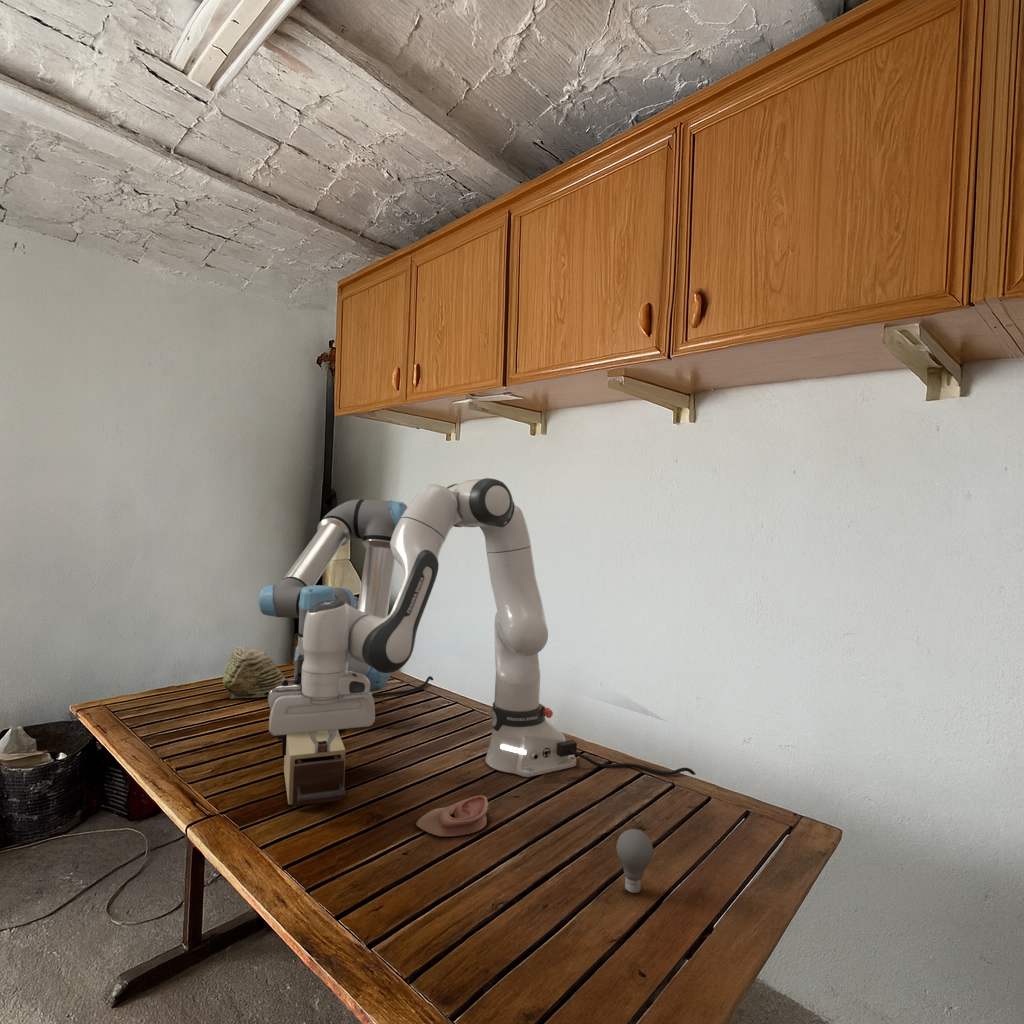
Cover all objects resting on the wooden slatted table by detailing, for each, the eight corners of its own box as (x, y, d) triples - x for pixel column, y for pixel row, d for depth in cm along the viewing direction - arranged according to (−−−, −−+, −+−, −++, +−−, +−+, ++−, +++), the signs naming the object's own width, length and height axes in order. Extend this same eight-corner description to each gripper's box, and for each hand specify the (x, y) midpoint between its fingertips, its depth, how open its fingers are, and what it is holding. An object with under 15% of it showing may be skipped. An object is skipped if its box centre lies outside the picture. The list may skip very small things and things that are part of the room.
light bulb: (610, 879, 108) (613, 822, 108) (644, 879, 109) (647, 822, 109) (619, 902, 102) (622, 840, 102) (655, 901, 103) (658, 840, 103)
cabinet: (343, 797, 134) (345, 749, 134) (288, 804, 130) (290, 755, 130) (333, 765, 149) (335, 722, 149) (283, 771, 145) (285, 727, 145)
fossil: (218, 695, 195) (220, 647, 195) (278, 685, 208) (279, 640, 207) (228, 703, 189) (230, 653, 188) (289, 692, 201) (290, 645, 201)
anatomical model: (411, 811, 121) (430, 785, 132) (410, 832, 121) (430, 804, 132) (478, 821, 118) (492, 794, 129) (477, 842, 118) (492, 813, 129)
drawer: (347, 813, 126) (348, 771, 125) (294, 820, 122) (296, 778, 122) (333, 769, 145) (334, 733, 145) (287, 774, 141) (289, 738, 141)
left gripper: (259, 661, 136) (255, 762, 136) (370, 655, 145) (366, 750, 145) (258, 653, 143) (255, 749, 143) (364, 648, 152) (360, 738, 152)
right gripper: (269, 691, 119) (266, 764, 119) (378, 683, 127) (375, 751, 127) (267, 681, 125) (265, 751, 125) (372, 674, 133) (369, 740, 133)
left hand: (311, 750), depth 144 cm, fingers closed on cabinet, 11 cm apart
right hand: (321, 751), depth 126 cm, fingers closed
